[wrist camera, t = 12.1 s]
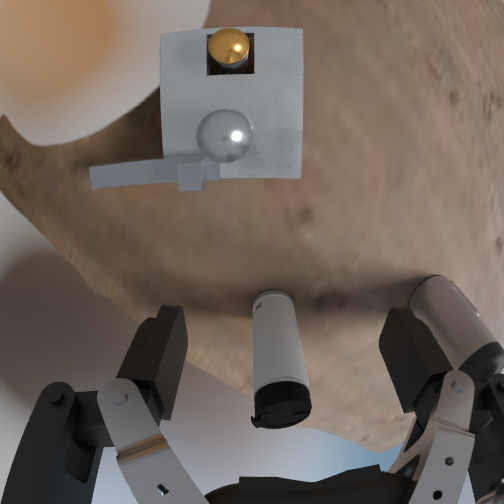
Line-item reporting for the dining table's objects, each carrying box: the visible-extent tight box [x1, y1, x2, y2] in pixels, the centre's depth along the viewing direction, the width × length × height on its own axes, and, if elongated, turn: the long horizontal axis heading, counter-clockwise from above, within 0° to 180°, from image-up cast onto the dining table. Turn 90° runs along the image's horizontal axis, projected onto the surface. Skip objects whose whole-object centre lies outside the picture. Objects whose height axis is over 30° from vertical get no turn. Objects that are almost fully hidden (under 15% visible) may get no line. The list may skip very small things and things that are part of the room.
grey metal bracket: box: [89, 27, 303, 191], centre depth 24 cm, size 22×16×14 cm
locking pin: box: [208, 28, 249, 75], centre depth 23 cm, size 3×3×10 cm
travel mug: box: [251, 290, 312, 429], centre depth 35 cm, size 6×7×20 cm
